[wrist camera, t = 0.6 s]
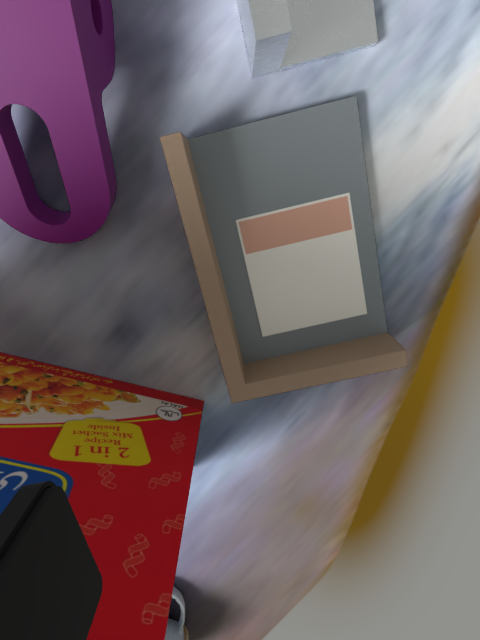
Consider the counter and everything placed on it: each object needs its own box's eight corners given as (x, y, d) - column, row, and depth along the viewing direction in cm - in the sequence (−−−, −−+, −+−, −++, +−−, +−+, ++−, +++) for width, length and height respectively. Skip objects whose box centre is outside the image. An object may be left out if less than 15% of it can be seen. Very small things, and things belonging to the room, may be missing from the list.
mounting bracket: (140, 195, 38) (100, -72, 26) (120, 245, 32) (55, -74, 20) (38, 192, 38) (-51, -78, 26) (-1, 241, 32) (-144, -83, 19)
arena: (171, 145, 31) (159, 137, 26) (352, 98, 30) (373, 81, 25) (232, 376, 37) (231, 403, 32) (385, 343, 36) (407, 366, 31)
